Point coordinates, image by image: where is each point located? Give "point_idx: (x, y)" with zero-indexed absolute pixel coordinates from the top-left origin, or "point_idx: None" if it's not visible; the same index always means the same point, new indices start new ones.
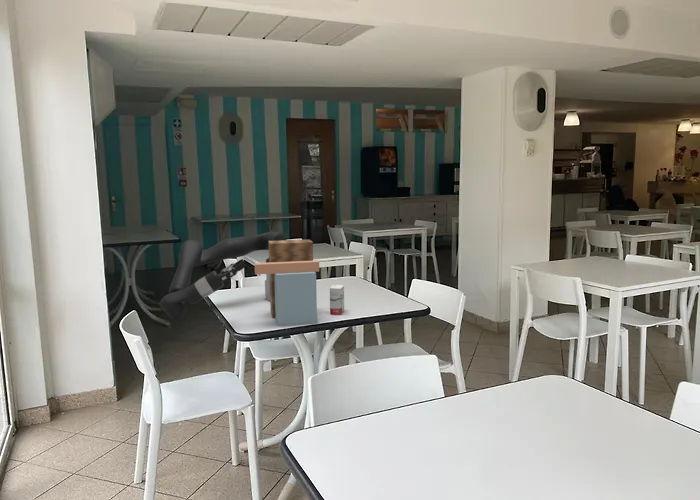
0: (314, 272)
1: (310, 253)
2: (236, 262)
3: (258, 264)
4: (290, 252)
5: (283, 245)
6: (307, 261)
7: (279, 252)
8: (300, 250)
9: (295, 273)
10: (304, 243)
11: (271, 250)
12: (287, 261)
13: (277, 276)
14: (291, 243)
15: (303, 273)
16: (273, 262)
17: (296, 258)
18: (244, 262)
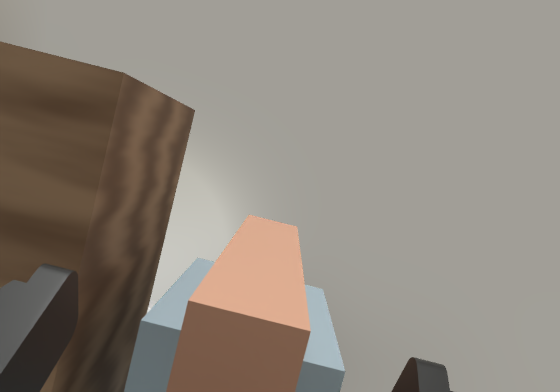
0: (308, 286)
1: (177, 170)
2: (11, 361)
3: (302, 316)
4: (151, 161)
5: (151, 106)
6: (267, 227)
7: (130, 158)
8: (170, 151)
9: (314, 317)
10: (184, 111)
11: (111, 136)
12: (130, 225)
13: (341, 381)
14: (167, 100)
15: (325, 307)
16: (226, 258)
17: (151, 201)
18: (75, 316)
